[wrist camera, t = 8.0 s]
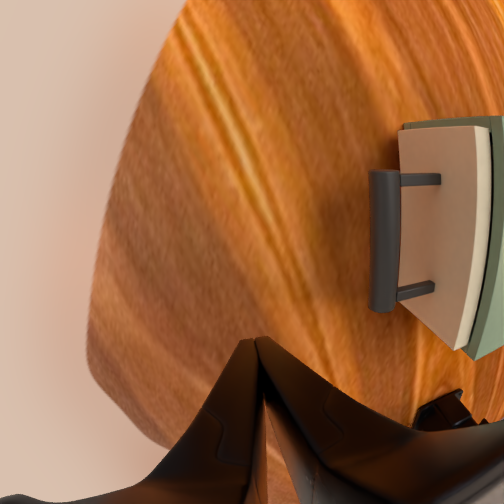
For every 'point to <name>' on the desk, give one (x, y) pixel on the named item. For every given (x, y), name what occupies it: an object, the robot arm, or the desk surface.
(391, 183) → the drawer
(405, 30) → the desk surface
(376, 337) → the desk surface
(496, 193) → the cabinet
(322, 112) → the desk surface
